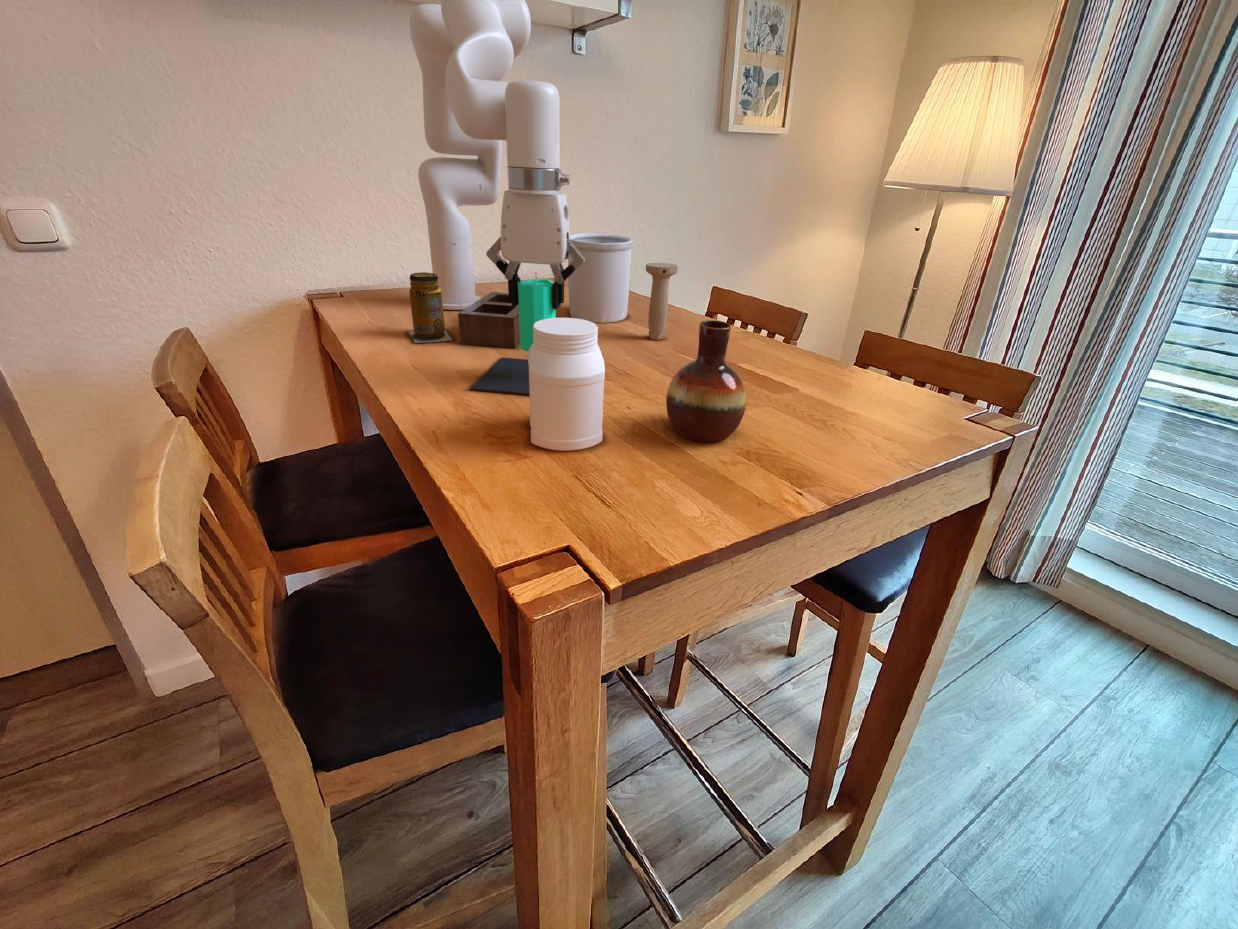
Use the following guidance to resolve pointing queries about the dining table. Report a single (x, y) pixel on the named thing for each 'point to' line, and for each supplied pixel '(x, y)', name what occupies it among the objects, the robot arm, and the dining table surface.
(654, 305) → the handle
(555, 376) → the jar
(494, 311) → the holder
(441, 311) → the condiment
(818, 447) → the dining table surface
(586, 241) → the utensil holder
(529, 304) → the candle
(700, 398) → the vase
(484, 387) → the mat
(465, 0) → the robot arm
